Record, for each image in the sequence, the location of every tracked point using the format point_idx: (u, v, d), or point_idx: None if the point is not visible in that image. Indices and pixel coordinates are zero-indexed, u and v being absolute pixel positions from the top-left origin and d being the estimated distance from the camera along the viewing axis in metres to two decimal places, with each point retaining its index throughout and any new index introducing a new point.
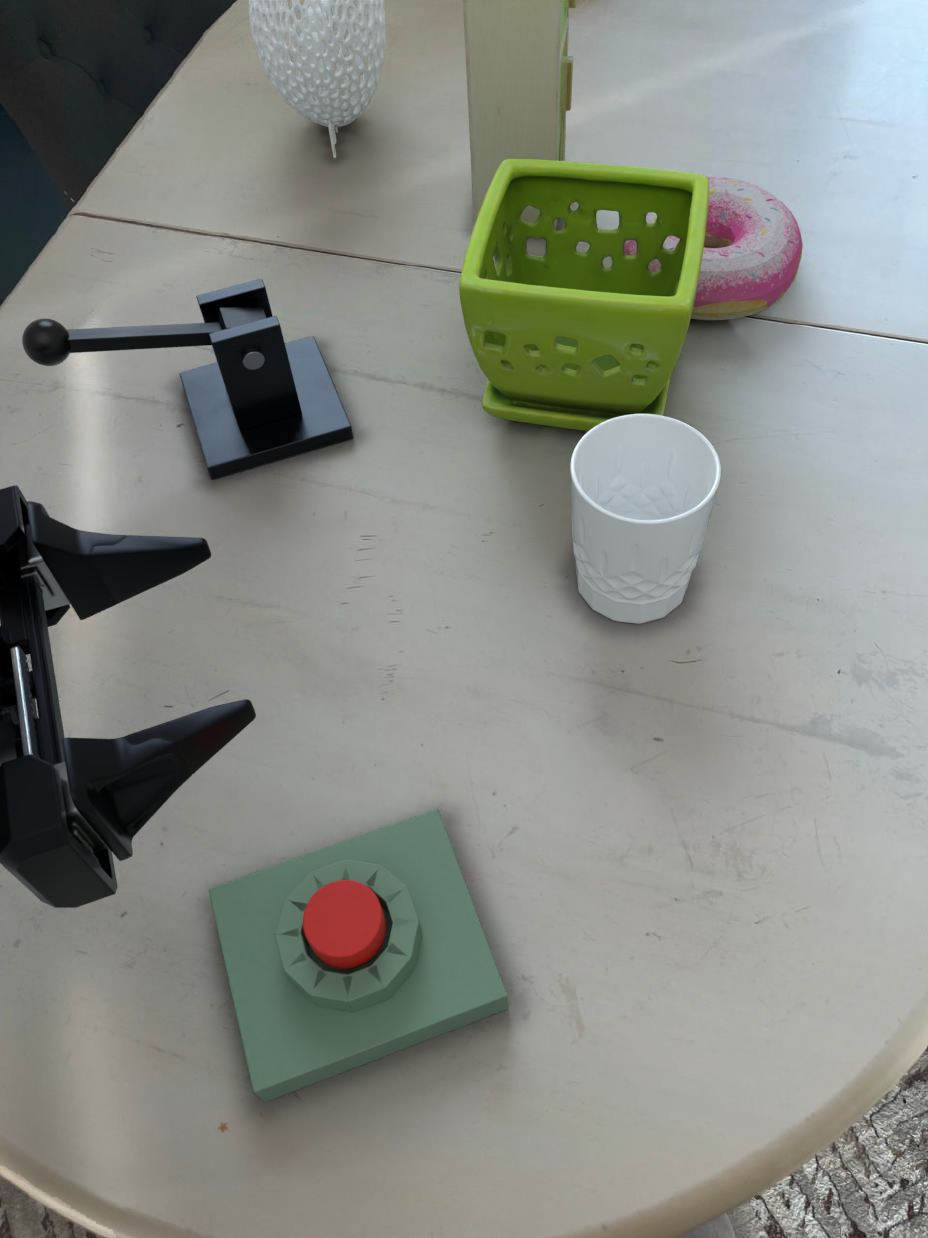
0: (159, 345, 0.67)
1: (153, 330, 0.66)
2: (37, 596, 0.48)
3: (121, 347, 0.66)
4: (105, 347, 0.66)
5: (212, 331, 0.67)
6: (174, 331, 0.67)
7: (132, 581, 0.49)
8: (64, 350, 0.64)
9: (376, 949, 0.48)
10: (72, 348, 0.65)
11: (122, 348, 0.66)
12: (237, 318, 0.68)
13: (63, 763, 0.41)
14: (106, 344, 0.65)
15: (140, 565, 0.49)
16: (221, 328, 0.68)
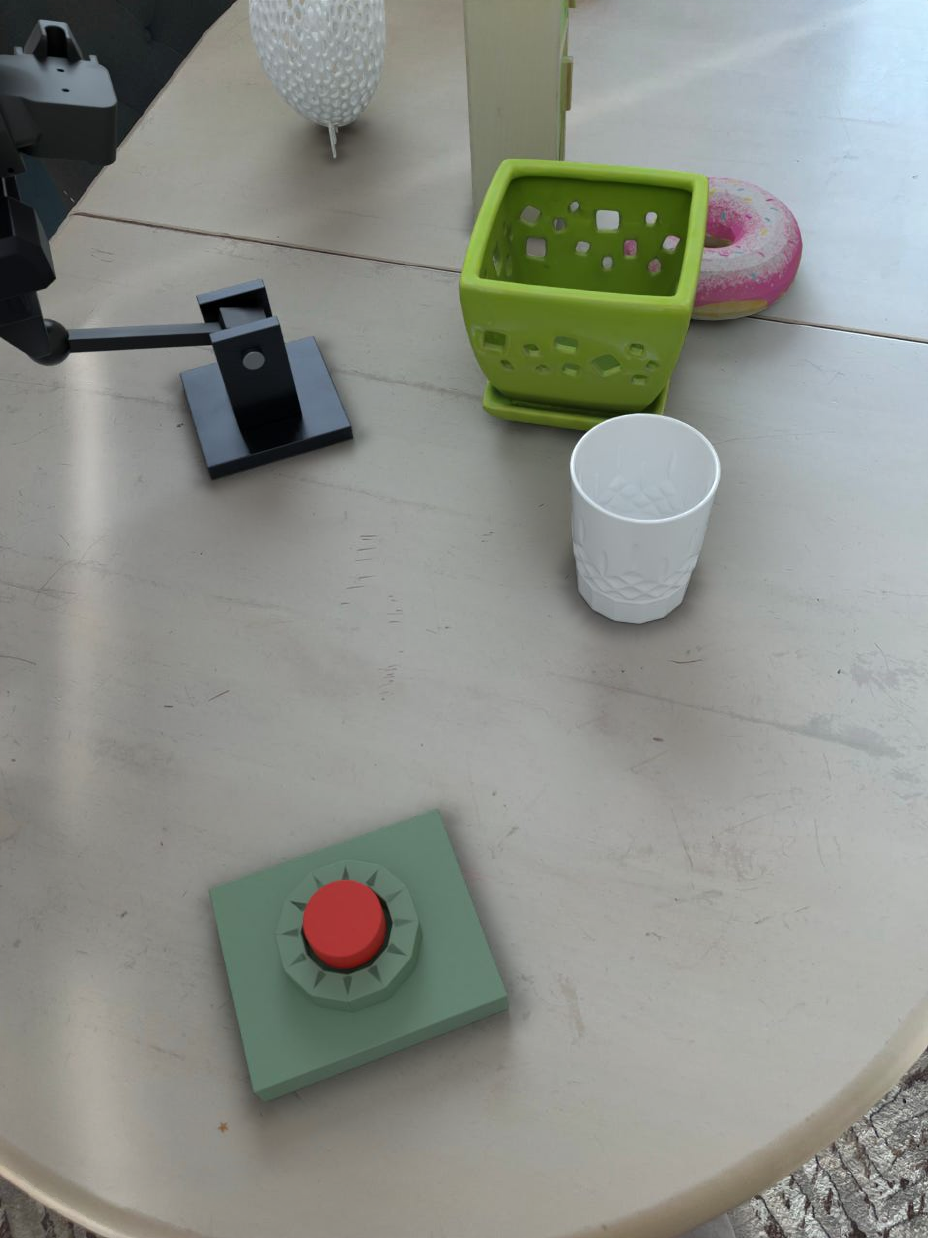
0: (159, 345, 0.67)
1: (153, 330, 0.66)
2: None
3: (121, 347, 0.66)
4: (105, 347, 0.66)
5: (212, 331, 0.67)
6: (174, 331, 0.67)
7: None
8: (64, 350, 0.64)
9: (376, 949, 0.48)
10: (72, 348, 0.65)
11: (122, 348, 0.66)
12: (237, 318, 0.68)
13: None
14: (106, 344, 0.65)
15: None
16: (221, 328, 0.68)
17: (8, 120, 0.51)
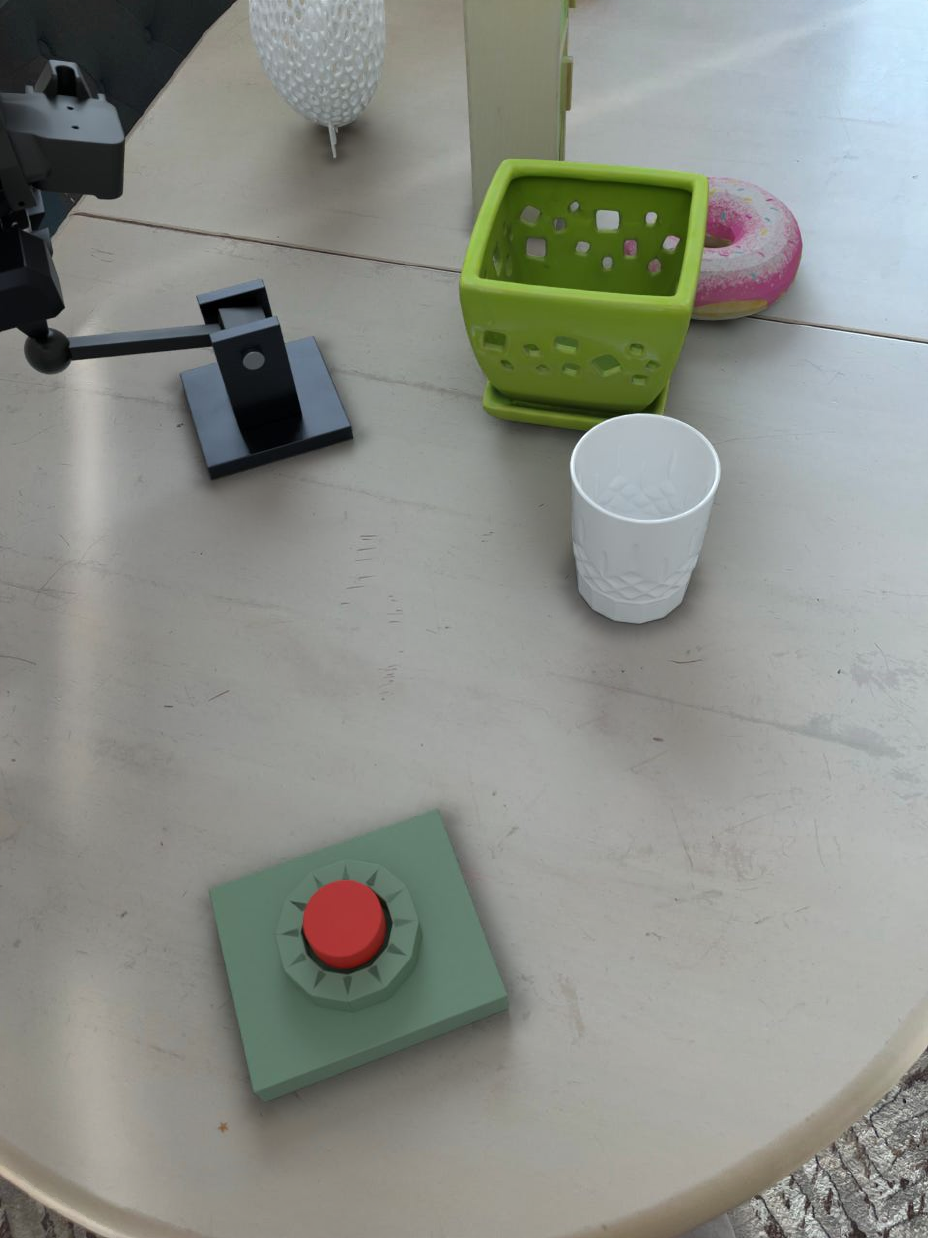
0: (160, 349, 0.67)
1: (153, 334, 0.67)
2: None
3: (122, 352, 0.66)
4: (106, 353, 0.66)
5: None
6: (174, 334, 0.67)
7: None
8: (65, 358, 0.65)
9: (376, 949, 0.48)
10: (73, 356, 0.65)
11: (123, 353, 0.66)
12: (236, 318, 0.68)
13: None
14: (107, 350, 0.66)
15: None
16: (221, 329, 0.68)
17: (20, 156, 0.53)
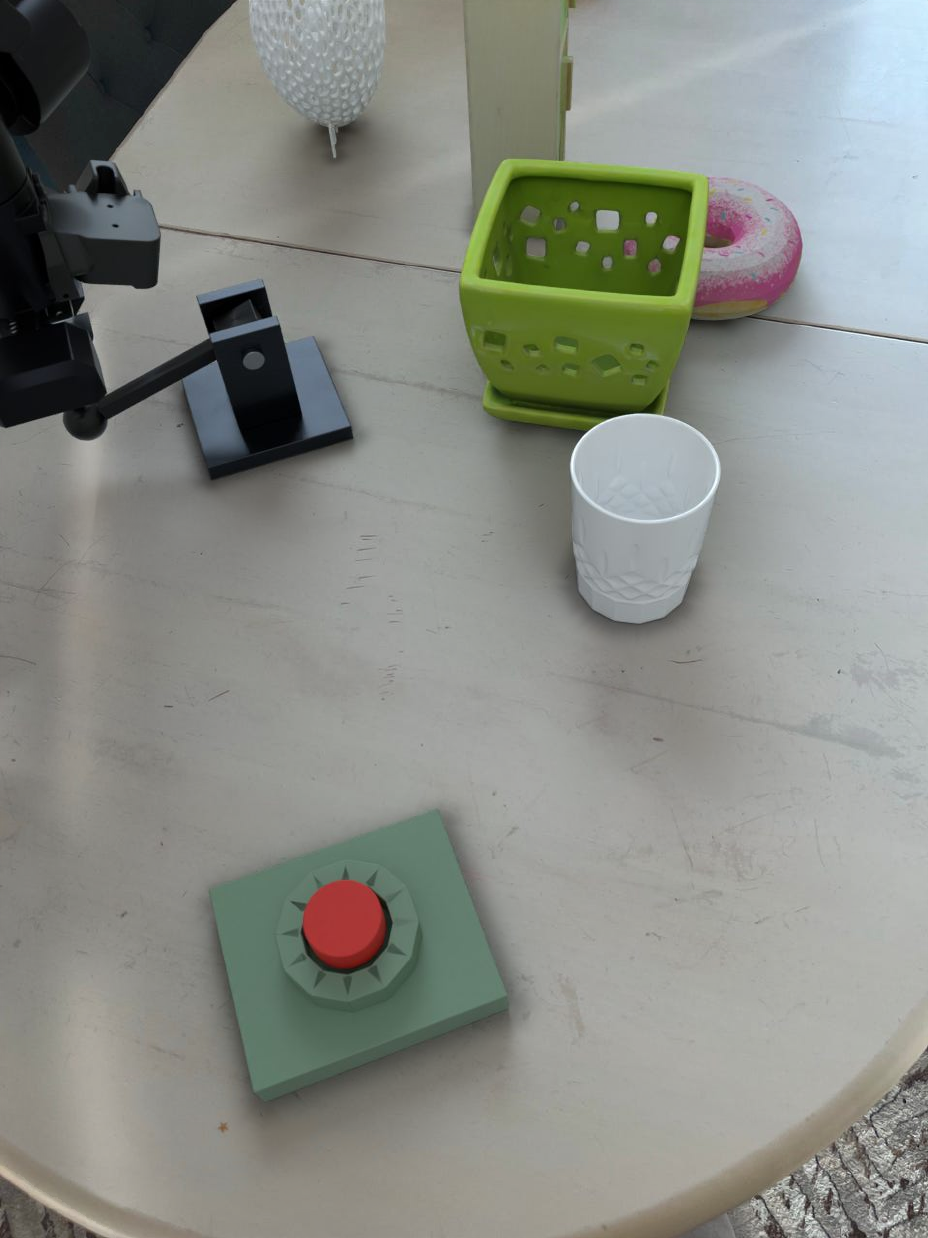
0: (175, 379, 0.69)
1: (164, 368, 0.69)
2: None
3: (144, 396, 0.69)
4: (131, 402, 0.69)
5: None
6: (181, 361, 0.69)
7: None
8: (98, 422, 0.69)
9: (376, 949, 0.48)
10: (106, 416, 0.70)
11: (146, 396, 0.69)
12: (228, 324, 0.68)
13: None
14: (131, 400, 0.69)
15: None
16: None
17: (65, 254, 0.58)
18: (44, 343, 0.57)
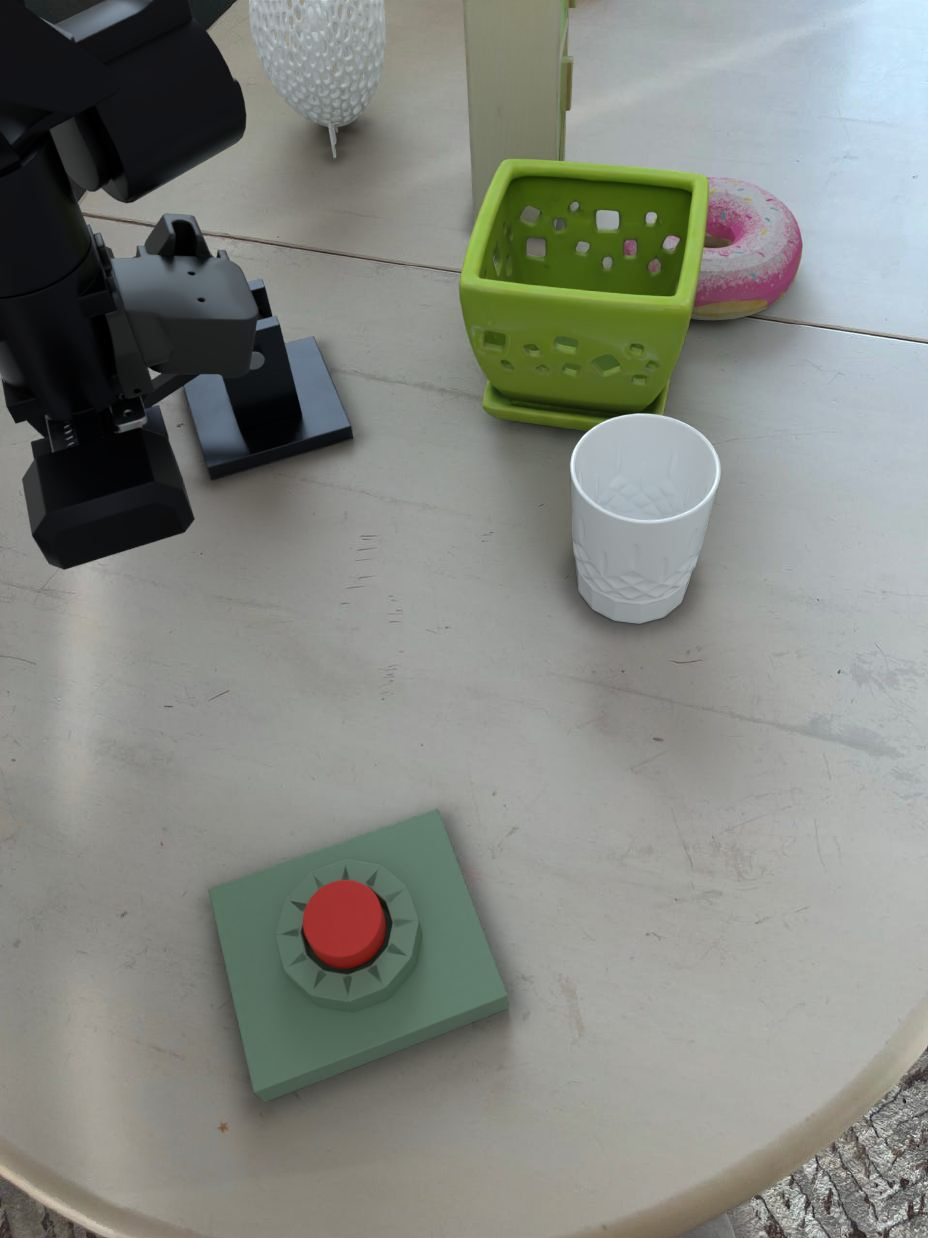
0: (180, 384, 0.70)
1: (168, 374, 0.69)
2: None
3: (152, 403, 0.70)
4: None
5: None
6: None
7: None
8: None
9: (376, 949, 0.48)
10: None
11: (153, 403, 0.70)
12: None
13: None
14: None
15: None
16: None
17: (139, 339, 0.44)
18: (115, 458, 0.43)
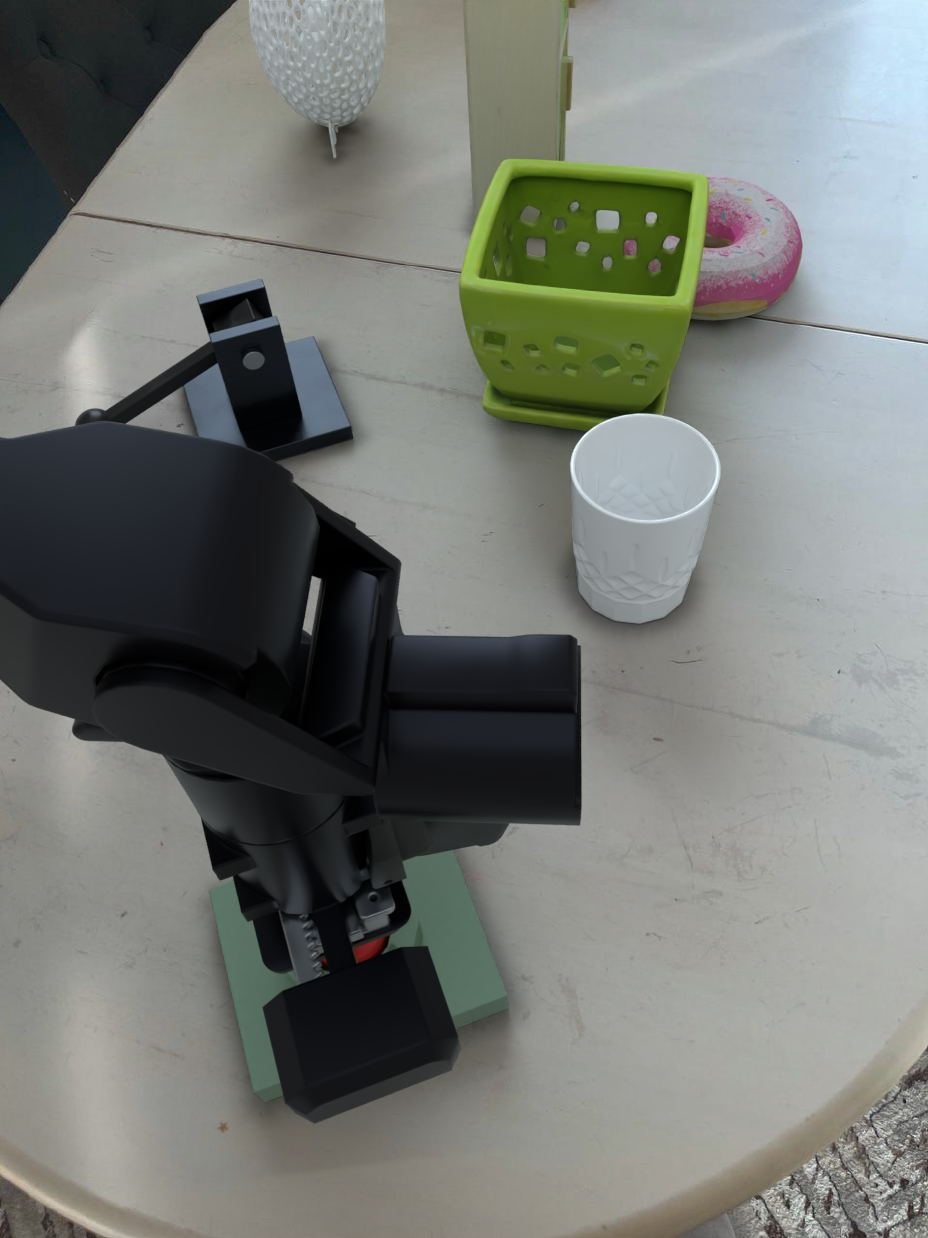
0: (180, 384, 0.70)
1: (168, 374, 0.69)
2: None
3: (152, 403, 0.70)
4: (139, 410, 0.70)
5: None
6: (184, 366, 0.69)
7: None
8: None
9: (378, 954, 0.49)
10: None
11: (153, 403, 0.70)
12: (227, 325, 0.68)
13: None
14: (138, 407, 0.70)
15: None
16: None
17: (400, 839, 0.38)
18: (378, 999, 0.36)
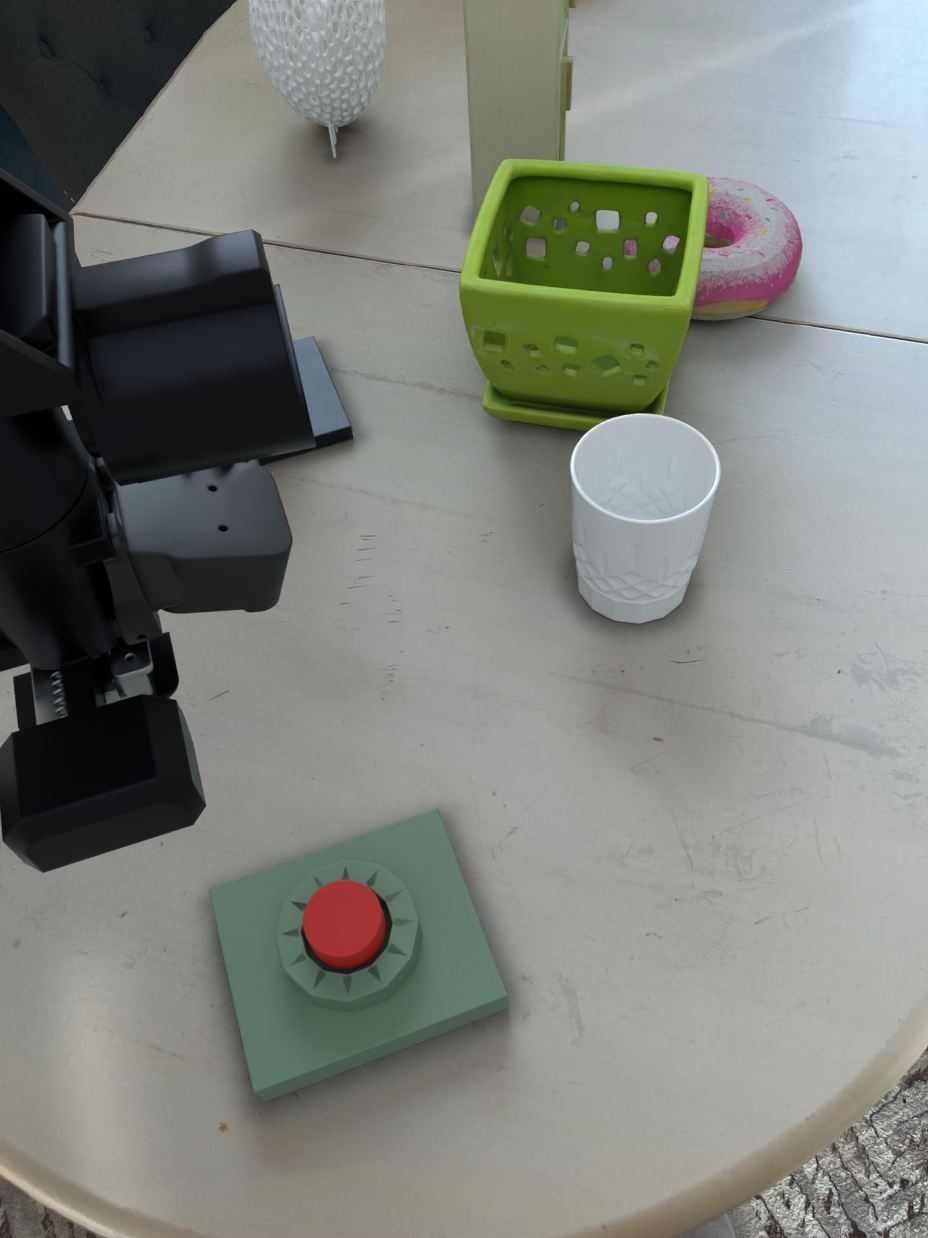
0: None
1: None
2: None
3: None
4: None
5: None
6: None
7: None
8: None
9: (376, 949, 0.48)
10: None
11: None
12: None
13: None
14: None
15: None
16: None
17: (145, 583, 0.36)
18: (110, 741, 0.35)
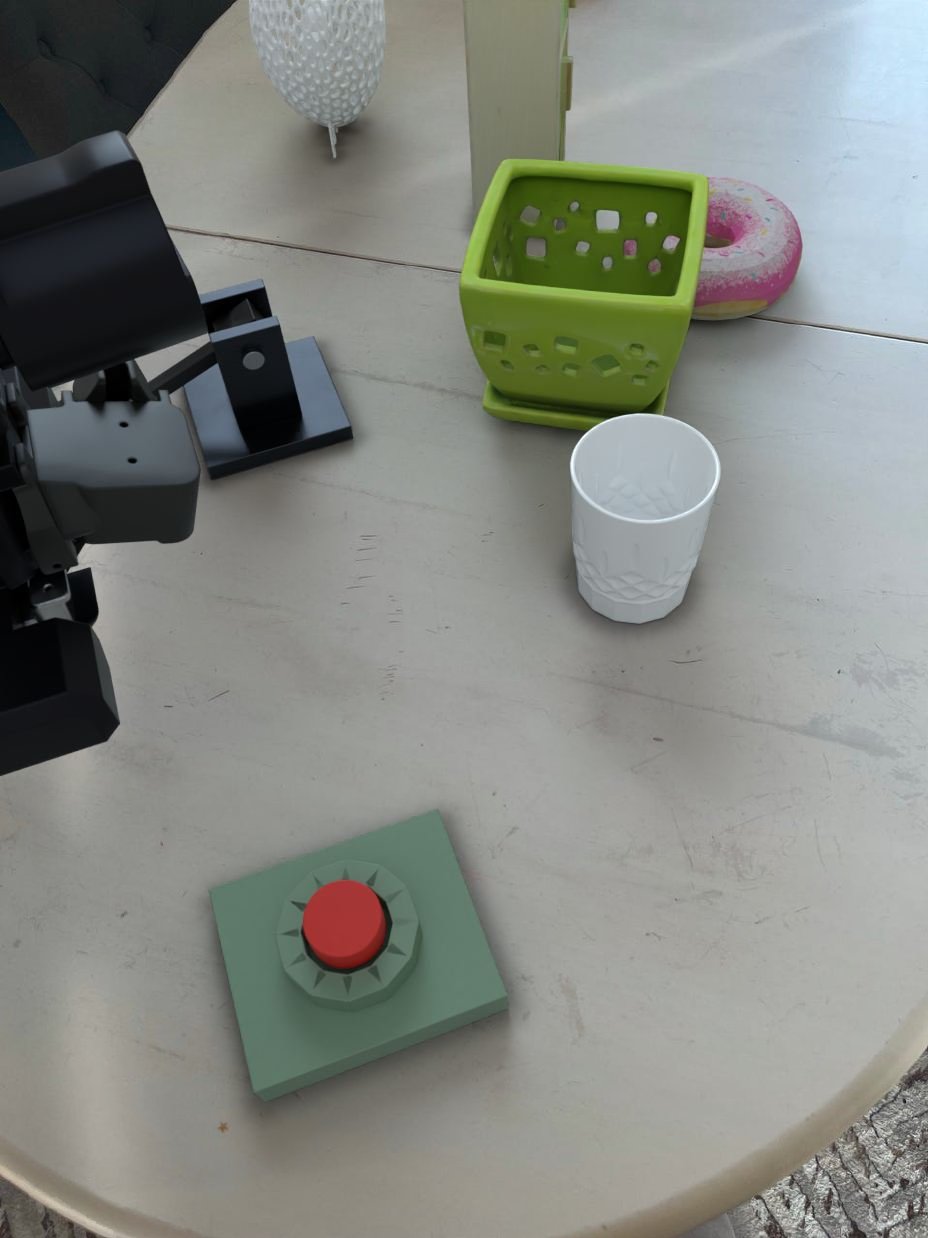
0: (180, 384, 0.70)
1: (168, 374, 0.69)
2: None
3: None
4: None
5: None
6: (184, 366, 0.69)
7: None
8: None
9: (376, 949, 0.48)
10: None
11: None
12: (227, 325, 0.68)
13: None
14: None
15: None
16: None
17: (56, 512, 0.38)
18: (23, 660, 0.36)
